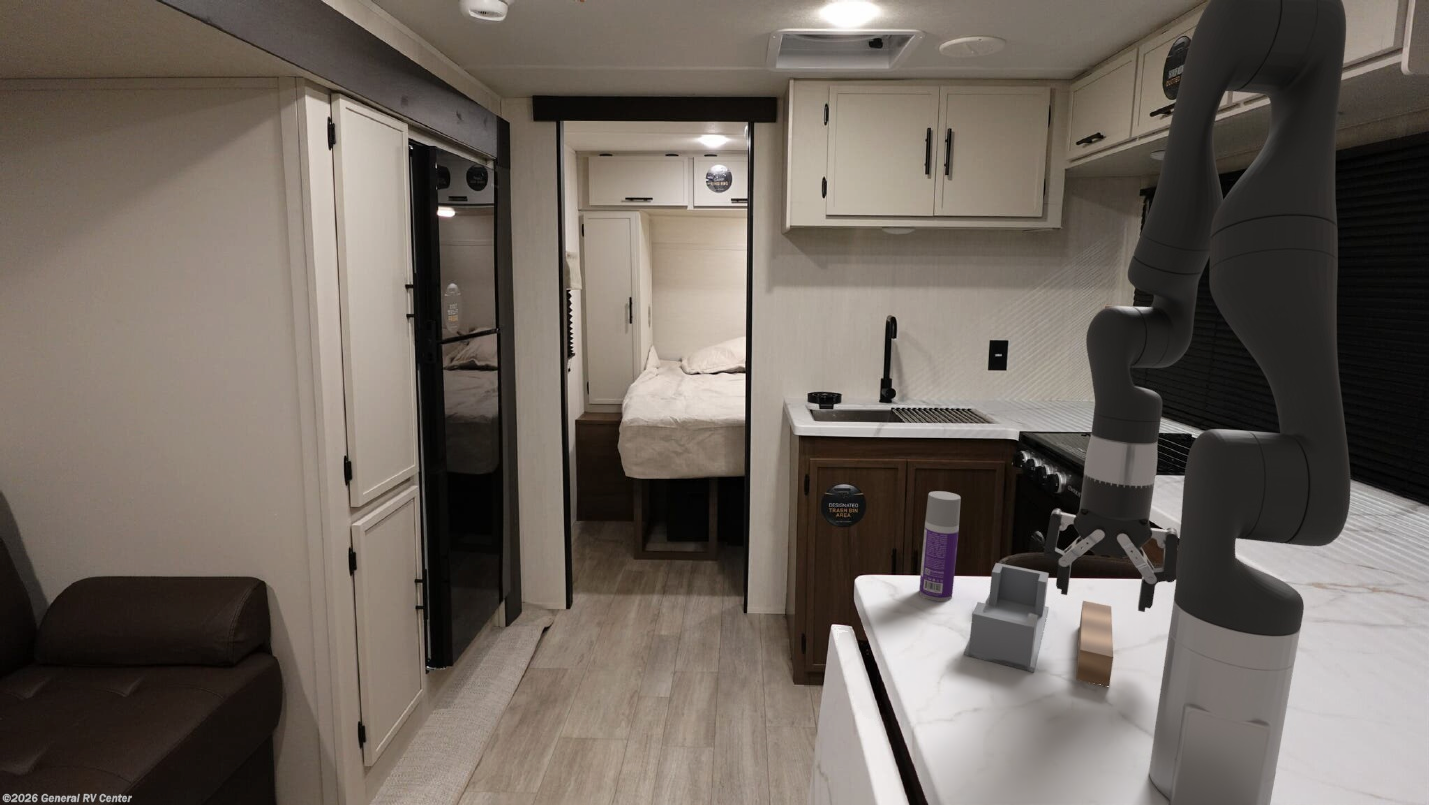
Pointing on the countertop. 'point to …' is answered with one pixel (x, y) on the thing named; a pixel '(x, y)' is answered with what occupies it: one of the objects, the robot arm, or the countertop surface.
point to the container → (940, 546)
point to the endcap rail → (1010, 618)
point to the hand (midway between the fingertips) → (1102, 600)
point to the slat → (1095, 644)
